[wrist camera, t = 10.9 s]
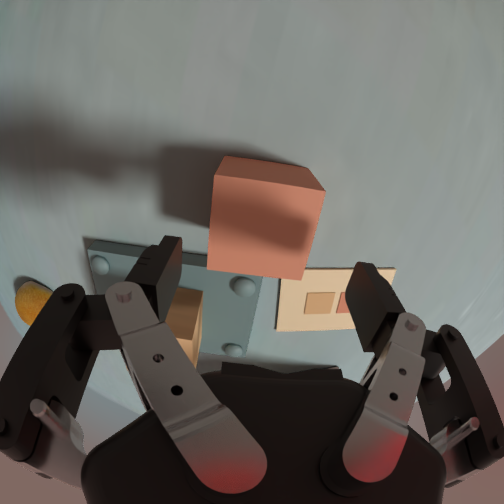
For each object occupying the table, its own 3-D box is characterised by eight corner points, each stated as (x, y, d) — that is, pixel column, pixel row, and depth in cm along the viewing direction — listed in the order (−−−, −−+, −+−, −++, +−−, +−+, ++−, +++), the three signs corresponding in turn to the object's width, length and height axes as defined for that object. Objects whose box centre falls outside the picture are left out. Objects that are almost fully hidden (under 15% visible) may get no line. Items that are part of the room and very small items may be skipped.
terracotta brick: (224, 155, 17) (214, 174, 13) (307, 167, 17) (325, 191, 13) (216, 230, 20) (206, 269, 15) (291, 239, 20) (301, 280, 16)
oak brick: (136, 280, 20) (113, 325, 16) (203, 291, 21) (192, 340, 16) (143, 327, 23) (127, 370, 19) (201, 337, 23) (193, 383, 19)
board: (95, 240, 20) (85, 252, 18) (262, 263, 21) (263, 278, 19) (113, 323, 25) (106, 336, 24) (245, 345, 26) (244, 361, 25)
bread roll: (46, 272, 22) (27, 296, 19) (87, 333, 27) (75, 358, 23) (13, 282, 23) (-4, 302, 20) (50, 335, 28) (37, 356, 25)
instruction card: (282, 268, 21) (282, 270, 21) (395, 268, 21) (396, 270, 21) (276, 329, 25) (276, 332, 25) (374, 325, 25) (375, 327, 25)
